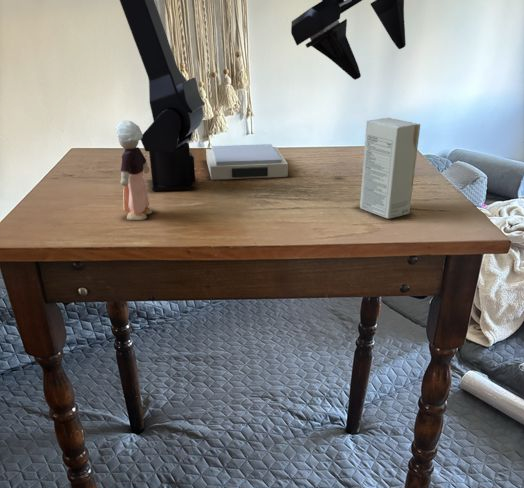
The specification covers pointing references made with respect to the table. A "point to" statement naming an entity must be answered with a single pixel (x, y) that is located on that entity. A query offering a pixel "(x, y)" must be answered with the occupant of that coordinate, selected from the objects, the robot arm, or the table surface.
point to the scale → (245, 162)
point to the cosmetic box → (389, 166)
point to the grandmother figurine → (133, 171)
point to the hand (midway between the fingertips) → (380, 62)
